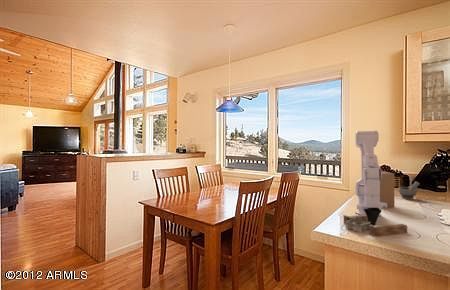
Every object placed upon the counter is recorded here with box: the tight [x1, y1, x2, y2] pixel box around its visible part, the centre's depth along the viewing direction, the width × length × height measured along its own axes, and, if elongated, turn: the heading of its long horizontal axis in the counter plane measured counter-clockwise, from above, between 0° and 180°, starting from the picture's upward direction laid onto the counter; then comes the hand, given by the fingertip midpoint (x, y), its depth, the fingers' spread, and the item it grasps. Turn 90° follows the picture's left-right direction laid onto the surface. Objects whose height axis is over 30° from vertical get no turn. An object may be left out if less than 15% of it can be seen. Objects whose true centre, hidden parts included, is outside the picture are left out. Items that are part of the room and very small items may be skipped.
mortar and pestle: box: [397, 181, 420, 201], centre depth 152 cm, size 11×9×12 cm
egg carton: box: [343, 215, 372, 233], centre depth 101 cm, size 11×8×4 cm
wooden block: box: [379, 170, 395, 208], centre depth 137 cm, size 10×10×20 cm
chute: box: [343, 214, 408, 237], centre depth 102 cm, size 17×17×4 cm
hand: (372, 224), depth 101 cm, fingers closed
